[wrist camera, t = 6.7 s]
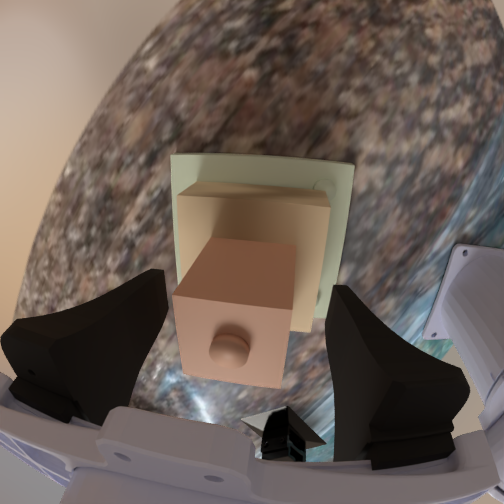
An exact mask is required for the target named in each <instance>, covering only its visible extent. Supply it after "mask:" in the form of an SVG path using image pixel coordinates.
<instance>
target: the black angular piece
mask: <svg viewBox="0 0 504 504" xmlns="http://www.w3.org/2000/svg"><path fill="white" fill-rule="evenodd" d="M241 420H242V421H243V422H244V423H245V424H246V425H247V426H249V427H250V428H251V429H252V430H253V431H255V432H256V433H257V434H258V435H260V436H261V437H262V444H261V453H262V459H263V460H268V461H284V462H306V449H309V448H313V447H317V446H321V445H325V444H327V443H326V442H325V441H323V440H322V439H321V438H320V437H319V436H318V435H317V434H316V433H315V432H314V431H313V430H312V429H311V428H310V427H309V426H308V425H307V424H306V423H305V422H304V421H303V420H302V419H301V418H300V417H299V416H298V415H297V414H296V413H295V412H294V411H293V410H292V409H291V408H290V407H289V406H284V407H281V408H278V409H275V410H271V411H268V412H264V413H261V414H257V415H253V416H250V417H246V418H242V419H241ZM266 442H267V443H266Z"/></svg>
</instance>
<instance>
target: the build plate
mask: <svg viewBox="0 0 504 504" xmlns="http://www.w3.org/2000/svg"><path fill="white" fill-rule="evenodd" d="M354 167H355V165H353V164H352V163H346V162H338V161H329V160H319V159H309V158H298V157H286V156H271V155H254V154H231V153H174V154H171V186H172V208H173V226H174V241H175V254H176V266H177V278H178V285H179V284H180V282H181V281H182V275H181V262H180V249H179V233H178V215H177V195H178V194H179V193H181V192H182V191H184V190H185V189H186V188H188V187H189V186H191V185H192V184H193V183H195V182H196V181H202V182H223V183H239V184H254V185H268V186H280V187H291V188H302V189H312V190H321V191H326V194H327V197H328V200H329V203H330V207H331V210H330V218H329V225H328V232H327V239H326V246H325V253H324V259H323V265H322V271H321V277H320V283H319V289H318V295H317V300H316V306H315V311H314V316H313V318H326V316H327V311H328V307H329V302H330V297H331V292H332V287H333V285H336V282H337V277H338V271H339V266H340V261H341V255H342V250H343V244H344V238H345V232H346V226H347V219H348V213H349V206H350V199H351V191H352V184H353V176H354Z"/></svg>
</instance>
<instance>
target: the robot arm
mask: <svg viewBox="0 0 504 504" xmlns="http://www.w3.org/2000/svg"><path fill="white" fill-rule="evenodd" d="M464 250H466V251H465V253H464V254H463V251H464ZM168 309H169V307H168V300H167V292H166V284H165V275H164V270H159V269H150V270H147V271H145V272H143V273H142V274H140V275H138V276H136V277H135V278H133V279H131V280H129V281H128V282H126V283H124V284H122V285H121V286H119V287H117V288H115V289H113V290H111V291H109V292H108V293H106V294H104V295H102V296H100V297H98V298H96V299H93V300H91V301H89V302H86V303H84V304H81V305H79V306H76V307H73V308H70V309H66V310H63V311H60V312H56V313H52V314H48V315H43V316H37V317H30V318H22V319H16V320H15V321H14V323H13V324H12V325H11V326H10V327H9V328H8V329H7V330H6V331H5V332H4V333H3V334H2V336H1V340H0V342H1V346H2V350H3V352H4V354H5V356H6V358H7V360H8V361H9V363H10V365H11V367H12V368H13V370H14V372H15V373H16V375H17V377H16V379H15V380H14V381H13V380H12V379H11V378H10V377H8V376H7V375H5V374H3V373H1V372H0V446H2V447H3V448H5V449H6V450H7V451H9V452H10V453H12V454H13V455H14V456H16V457H17V458H19V459H20V460H22V461H23V462H25V463H26V464H28V465H29V466H31V467H32V468H34V469H36V470H37V471H39V472H40V473H42V474H43V475H45V476H47V477H48V478H50V479H52V480H53V481H55V482H57V483H58V484H60V485H62V486H64V487H66V490H65V492H64V495H63V497H62V499H61V502H60V504H471V503H472V502H474V501H475V500H477V499H478V498H480V497H481V496H483V495H484V494H486V493H487V492H488V493H489V494H490V495H491V496H492V497H493V498H495V499H497V500H498V501H500V502H502V503H503V504H504V249H499V248H491V247H484V246H476V245H468V244H456V245H455V246H454V247H453V249H452V252H451V256H450V259H449V262H448V265H447V269H446V272H445V275H444V278H443V281H442V283H441V286H440V289H439V292H438V295H437V297H436V300H435V303H434V305H433V308H432V310H431V313H430V315H429V318H428V320H427V323H426V325H425V327H424V330H423V332H422V336H423V338H424V339H426V340H428V339H451V340H452V342H453V344H454V345H455V347H456V349H457V351H458V353H459V355H460V357H461V358H462V360H463V362H464V364H465V366H466V368H467V370H468V372H469V374H470V376H471V378H472V380H473V382H474V384H475V386H476V388H477V391H478V393H479V395H480V397H481V399H482V402H483V403H484V406H485V408H484V410H483V412H482V413H481V414H480V415H479V416H478V418H479V420H480V423H481V425H482V428H483V430H478V431H474V432H471V433H467V434H463V435H460V436H458V437H456V438H454V439H453V438H452V435H451V432H452V431H453V430H454V426H453V423H452V420H453V419H454V417H455V416H456V415H457V413H458V412H459V411H460V410H461V408H462V407H463V406H464V404H465V403H466V401H467V399H468V397H469V394H470V387H469V384H468V382H467V380H466V378H465V376H464V374H463V372H462V370H461V368H459V367H456V366H454V365H451V364H448V363H446V362H443V361H441V360H439V359H437V358H435V357H433V356H431V355H429V354H427V353H425V352H423V351H421V350H419V349H418V348H416V347H415V346H413V345H411V344H410V343H408V342H407V341H405V340H404V339H403V338H401V337H400V336H399V335H397V334H396V333H395V332H393V331H392V330H391V329H390V328H388V327H387V326H386V325H385V324H384V323H383V322H382V321H381V320H380V319H378V318H377V317H376V316H375V315H374V314H373V313H372V312H371V311H370V310H369V309H368V307H367V306H366V305H365V304H364V303H363V302H362V301H361V300H360V299H359V298H358V297H357V295H356V294H355V293H354V292H353V291H352V290H351V289H350V288H349V287H348V286H347V285H333V287H332V292H331V297H330V302H329V307H328V311H327V316H326V321H325V336H326V347H327V352H328V358H329V364H330V369H331V375H332V381H333V388H334V406H335V438H334V459H333V462H284V461H268V460H263V459H259V458H255V449H256V448H255V446H254V444H253V442H252V440H251V439H250V438H249V437H248V436H246V435H245V434H243V433H241V432H239V431H238V430H236V429H233V428H229V427H225V426H221V425H218V424H211V423H205V422H199V421H193V420H188V419H182V418H177V417H172V416H168V415H163V414H159V413H154V412H150V411H146V410H142V409H138V408H132V407H128V404H129V401H130V398H131V395H132V391H133V388H134V385H135V383H136V380H137V377H138V374H139V371H140V369H141V367H142V365H143V363H144V361H145V359H146V357H147V355H148V353H149V351H150V349H151V347H152V345H153V343H154V342H155V340H156V338H157V336H158V334H159V332H160V330H161V328H162V326H163V323H164V321H165V318H166V315H167V312H168ZM434 332H435V333H434ZM433 333H434V334H433Z"/></svg>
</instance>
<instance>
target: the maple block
mask: <svg viewBox="0 0 504 504" xmlns="http://www.w3.org/2000/svg"><path fill="white" fill-rule="evenodd" d="M330 210H331V207H330V203H329V200H328V197H327V194H326V191H321V190H312V189H302V188H291V187H280V186H268V185H254V184H239V183H223V182H202V181H196V182H195V183H193V184H192V185H191V186H189V187H188V188H186V189H185V190H184V191H182V192H181V193H179V194H178V195H177V215H178V233H179V249H180V262H181V275H182V279H183V278H184V276H185V275H186V273H187V272H188V270H189V269H190V267H191V266H192V264H193V263H194V261H195V260H196V258H197V257H198V255H199V254H200V252H201V251H202V249H203V248H204V246H205V245H206V244H207V242H208V241H209V239H210V238H211V237H215V238H226V239H236V240H247V241H257V242H268V243H278V244H288V245H296V259H295V279H294V297H293V311H292V318H291V325H290V331H299V332H311V327H312V322H313V316H314V311H315V306H316V300H317V295H318V289H319V283H320V277H321V271H322V265H323V259H324V253H325V246H326V239H327V232H328V225H329V218H330Z"/></svg>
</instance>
